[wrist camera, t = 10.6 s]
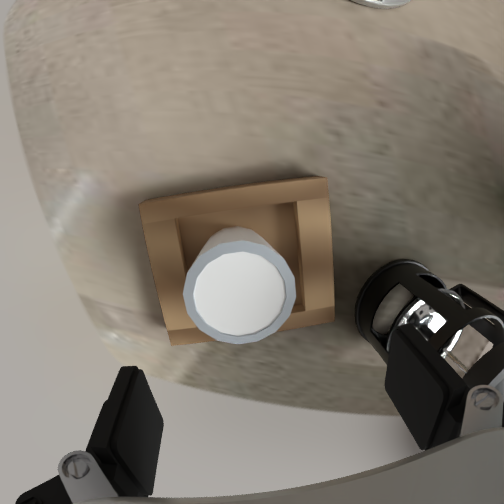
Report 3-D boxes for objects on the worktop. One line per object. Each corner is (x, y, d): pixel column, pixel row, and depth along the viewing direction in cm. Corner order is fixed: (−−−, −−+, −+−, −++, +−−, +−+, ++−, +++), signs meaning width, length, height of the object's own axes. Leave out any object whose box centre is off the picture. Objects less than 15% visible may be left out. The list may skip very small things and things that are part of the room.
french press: (357, 359, 31) (464, 543, 9) (338, 283, 28) (503, 492, 6) (447, 315, 31) (584, 441, 9) (440, 239, 28) (631, 347, 6)
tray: (146, 200, 25) (138, 204, 22) (317, 175, 25) (327, 177, 23) (175, 331, 28) (171, 345, 26) (326, 308, 29) (334, 321, 26)
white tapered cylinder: (175, 258, 25) (159, 293, 19) (239, 200, 24) (245, 215, 18) (233, 315, 27) (236, 363, 20) (295, 262, 26) (318, 298, 20)
